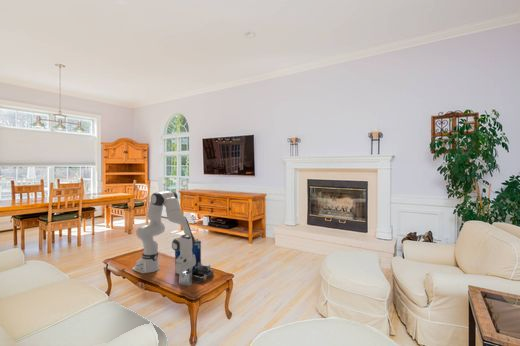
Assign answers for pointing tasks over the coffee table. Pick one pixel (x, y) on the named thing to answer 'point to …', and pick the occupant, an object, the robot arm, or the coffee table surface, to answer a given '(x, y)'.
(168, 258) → the coffee table surface
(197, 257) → the book
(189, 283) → the block
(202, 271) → the rack
